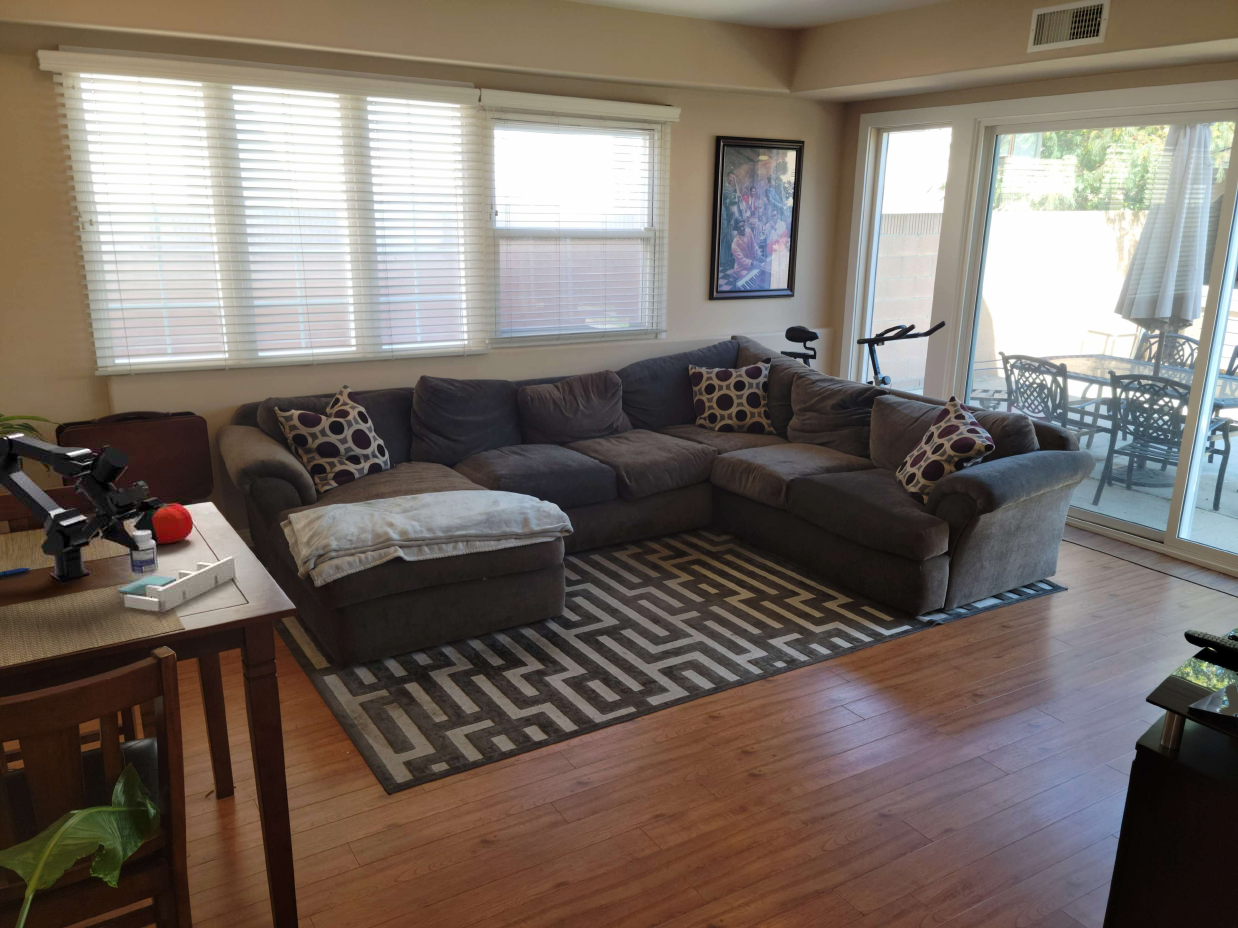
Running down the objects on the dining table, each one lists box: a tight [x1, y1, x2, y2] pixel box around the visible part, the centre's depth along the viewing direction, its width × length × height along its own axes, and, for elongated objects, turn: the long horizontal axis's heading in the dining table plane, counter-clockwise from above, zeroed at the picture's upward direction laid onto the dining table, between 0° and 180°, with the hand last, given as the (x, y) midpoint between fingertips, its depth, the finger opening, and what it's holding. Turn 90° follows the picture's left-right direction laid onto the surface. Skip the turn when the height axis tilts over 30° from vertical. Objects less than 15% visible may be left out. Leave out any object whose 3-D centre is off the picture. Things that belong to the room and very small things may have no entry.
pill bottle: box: [129, 530, 159, 577], centre depth 206 cm, size 5×5×10 cm
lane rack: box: [123, 556, 236, 613], centre depth 204 cm, size 10×23×5 cm, turn 164°
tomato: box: [152, 502, 194, 545], centre depth 237 cm, size 13×12×11 cm
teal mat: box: [117, 574, 177, 596], centre depth 208 cm, size 7×10×1 cm
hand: (147, 545), depth 205 cm, fingers closed on pill bottle, 5 cm apart
